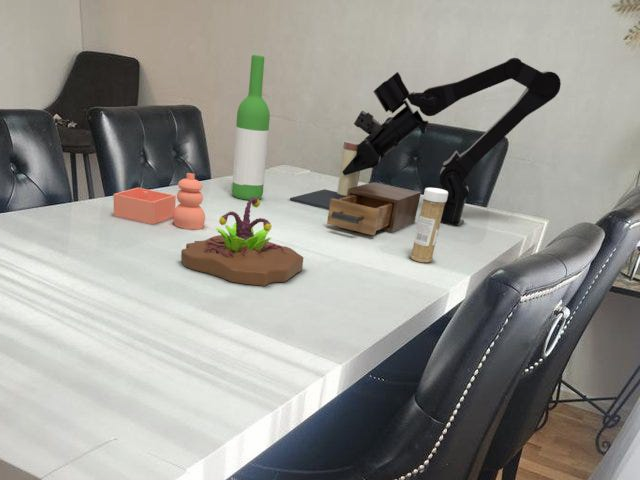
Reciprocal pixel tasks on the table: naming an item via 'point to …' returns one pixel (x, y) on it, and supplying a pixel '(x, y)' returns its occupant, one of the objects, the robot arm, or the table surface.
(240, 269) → the plant
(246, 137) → the wine bottle
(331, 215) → the drawer
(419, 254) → the spice jar
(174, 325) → the table surface
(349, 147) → the spice shaker
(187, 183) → the pottery
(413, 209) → the cabinet
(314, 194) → the mat
